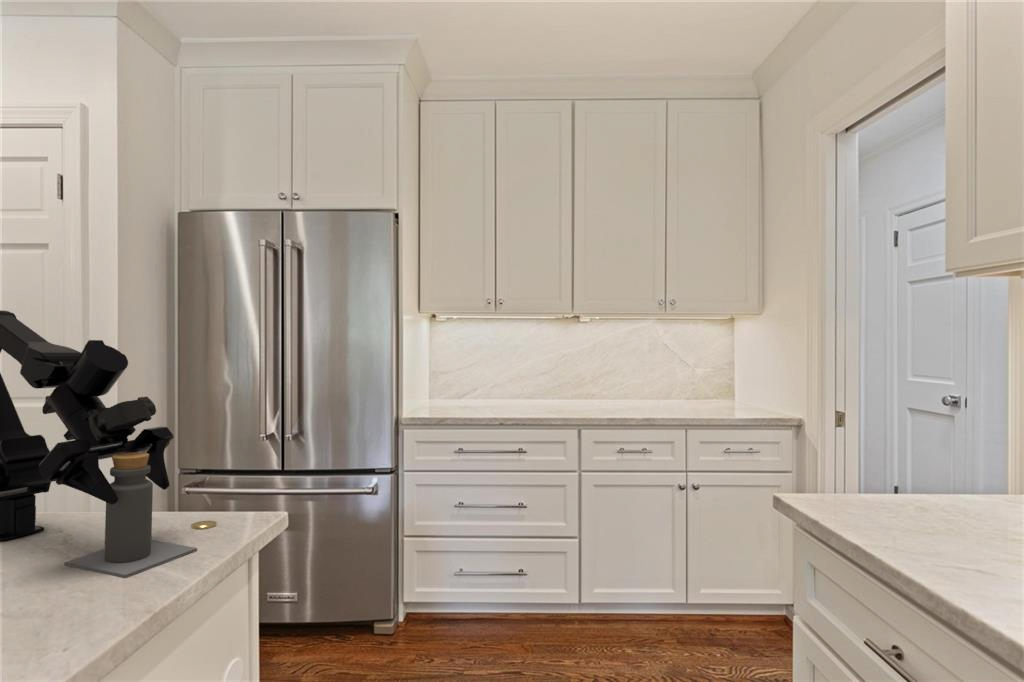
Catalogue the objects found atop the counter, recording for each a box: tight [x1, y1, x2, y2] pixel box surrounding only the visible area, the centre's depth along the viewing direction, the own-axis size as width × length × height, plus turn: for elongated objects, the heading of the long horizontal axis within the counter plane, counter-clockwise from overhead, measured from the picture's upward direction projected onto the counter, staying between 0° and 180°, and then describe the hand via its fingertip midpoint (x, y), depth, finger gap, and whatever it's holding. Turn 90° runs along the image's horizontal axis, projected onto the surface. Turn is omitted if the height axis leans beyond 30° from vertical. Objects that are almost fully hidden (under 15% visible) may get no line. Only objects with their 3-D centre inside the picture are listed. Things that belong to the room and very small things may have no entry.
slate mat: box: [63, 539, 198, 579], centre depth 92 cm, size 12×12×1 cm
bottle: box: [104, 452, 154, 563], centre depth 91 cm, size 6×6×15 cm
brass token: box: [190, 520, 218, 530], centre depth 108 cm, size 4×4×1 cm
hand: (142, 494), depth 92 cm, fingers open, 9 cm apart
